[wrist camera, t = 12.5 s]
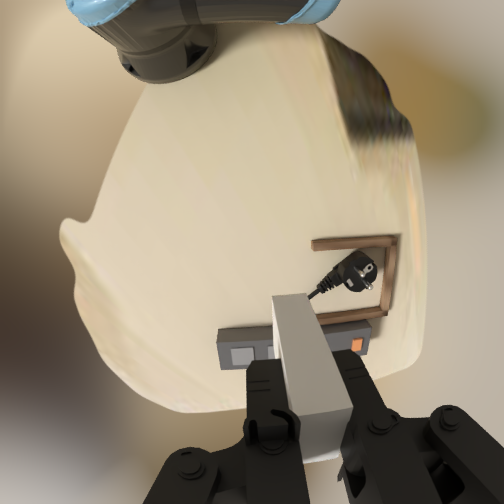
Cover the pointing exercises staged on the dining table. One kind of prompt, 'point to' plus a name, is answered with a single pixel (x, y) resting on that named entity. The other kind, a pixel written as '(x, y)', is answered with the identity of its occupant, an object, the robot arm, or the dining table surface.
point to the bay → (387, 277)
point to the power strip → (261, 346)
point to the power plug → (350, 274)
